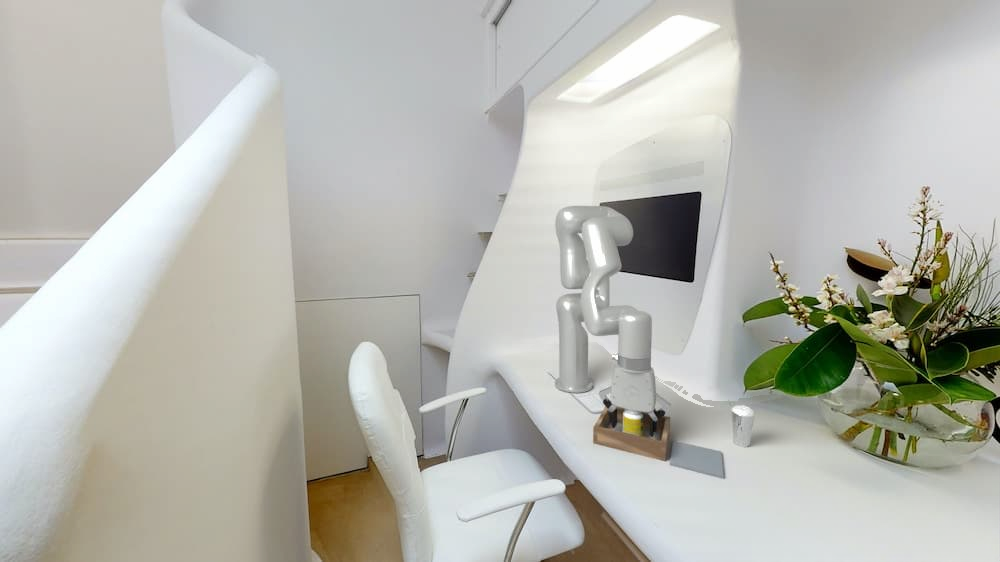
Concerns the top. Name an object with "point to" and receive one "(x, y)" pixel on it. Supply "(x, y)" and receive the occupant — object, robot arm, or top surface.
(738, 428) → the milkshake
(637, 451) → the walnut box
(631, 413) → the supplement bottle
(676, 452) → the slate mat
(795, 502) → the top surface
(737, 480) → the top surface
